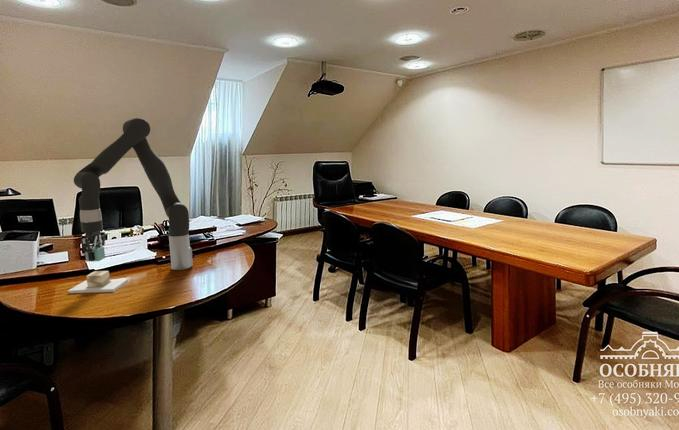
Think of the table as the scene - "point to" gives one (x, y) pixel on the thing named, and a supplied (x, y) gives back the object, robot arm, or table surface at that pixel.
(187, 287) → the table surface
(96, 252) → the teal cube
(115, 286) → the board
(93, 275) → the birch block
